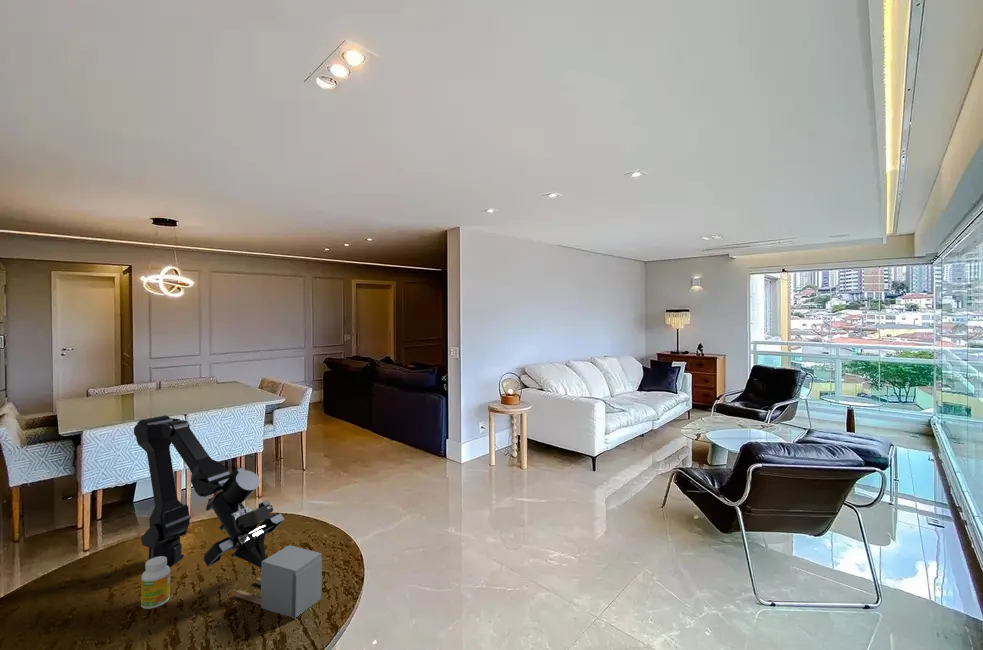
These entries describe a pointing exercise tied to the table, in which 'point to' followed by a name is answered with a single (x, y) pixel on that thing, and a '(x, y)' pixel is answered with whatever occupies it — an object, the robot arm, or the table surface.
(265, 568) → the socket
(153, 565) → the supplement bottle
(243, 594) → the track
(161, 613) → the table surface
